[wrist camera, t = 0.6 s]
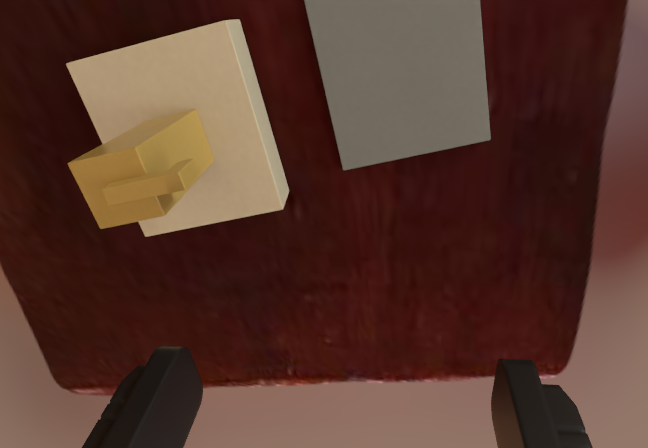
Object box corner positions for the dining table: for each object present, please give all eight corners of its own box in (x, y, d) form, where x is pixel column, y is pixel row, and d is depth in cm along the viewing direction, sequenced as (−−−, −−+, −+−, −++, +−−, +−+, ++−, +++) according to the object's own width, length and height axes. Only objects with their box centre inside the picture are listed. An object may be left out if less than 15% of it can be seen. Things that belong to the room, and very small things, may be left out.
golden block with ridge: (145, 120, 32) (55, 169, 22) (225, 101, 31) (167, 143, 21) (166, 171, 34) (90, 237, 24) (242, 154, 33) (196, 216, 23)
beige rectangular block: (94, 58, 34) (65, 63, 31) (239, 18, 33) (226, 19, 29) (163, 217, 40) (145, 237, 37) (289, 191, 38) (283, 209, 35)
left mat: (294, -46, 31) (293, -47, 30) (469, -97, 29) (472, -99, 28) (343, 168, 37) (343, 171, 37) (488, 138, 35) (490, 140, 35)
